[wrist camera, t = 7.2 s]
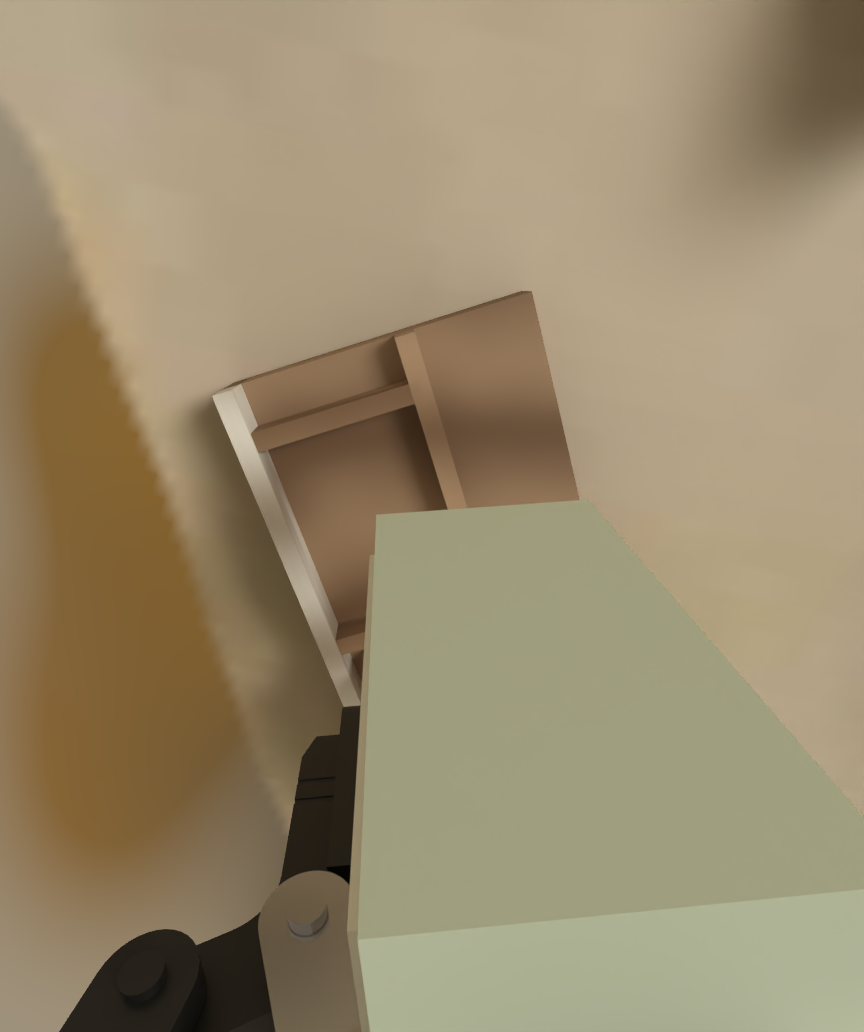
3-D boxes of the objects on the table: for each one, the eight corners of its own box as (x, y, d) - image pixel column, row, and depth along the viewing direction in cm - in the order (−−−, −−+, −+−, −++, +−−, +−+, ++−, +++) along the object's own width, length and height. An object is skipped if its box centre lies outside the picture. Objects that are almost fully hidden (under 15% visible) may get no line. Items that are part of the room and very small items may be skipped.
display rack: (624, 730, 35) (649, 777, 32) (401, 793, 36) (402, 846, 32) (521, 291, 27) (540, 291, 24) (233, 382, 27) (211, 396, 24)
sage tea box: (368, 515, 13) (338, 941, 5) (595, 499, 13) (939, 882, 5) (395, 790, 16) (403, 1364, 8) (582, 774, 16) (790, 1315, 8)
